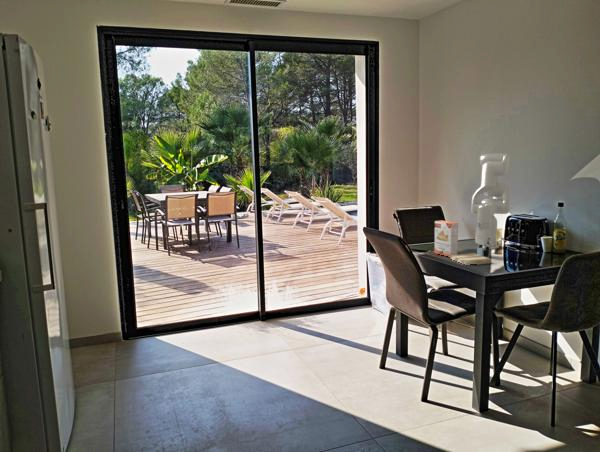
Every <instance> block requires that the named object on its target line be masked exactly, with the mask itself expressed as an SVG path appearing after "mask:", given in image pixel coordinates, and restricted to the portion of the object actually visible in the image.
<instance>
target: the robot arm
mask: <svg viewBox="0 0 600 452" xmlns="http://www.w3.org/2000/svg"><path fill="white" fill-rule="evenodd" d="M510 159H511V158H510V155H509V154H508V153H485V154H482V155H480V156H479V163H480V167H481V175H480V186H479V187H478V188H477V189H476V190H475V191H474V193H473V194H472V196H471V202H470V203H471V204H470V212H471V214H472V215H474V216H477V221H476V223H477V224H476V229H475V235H474V237H475V238H474V242H475V244H476V246H477V248H482V247H484V255H483V256H484V257H487V258H489V257H490V253H489V250H490V251H491V250H495V249H499V248H500V245H498V244H497V242H498V241H497V238H498V236H497V235H498V219H497V218H496V216H495V215H496V214H498V215H499V214H500V215H506V214H509V213H510V211H511V192H512V191H511V184H510V182H507V181H499V177H501V176H503V177H504V176H506V175H507V173H508V171H509V165H510V162H511V160H510ZM482 194H483V195H484V196H485V197H493V198H484V199H482V200H481V202H477V200H478V198H479V197H480V196H481V195H482ZM494 197H496V198H494ZM497 197H498V198H497ZM499 197H501V198H499ZM477 248H476V249H477ZM488 256H489V257H488Z"/></svg>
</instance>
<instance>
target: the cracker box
mask: <svg viewBox="0 0 600 452" xmlns="http://www.w3.org/2000/svg"><path fill="white" fill-rule="evenodd" d="M458 243H459V222H452V221H448V220H443V219H442V220H434V252H433V253H436V254H435V255H437V254H440V255H439V256H441V255H444V256H443V257H445V256H448V257H450V255H459V253H458V250H459V244H458ZM448 257H447V258H448Z"/></svg>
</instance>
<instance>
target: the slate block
mask: <svg viewBox="0 0 600 452" xmlns="http://www.w3.org/2000/svg"><path fill="white" fill-rule="evenodd" d="M490 251H491V249H490V250H489V254H490ZM476 254H478V255H481V256H483V255H484V247H482V248H476ZM487 258H490V255H489V256H488V257H487Z"/></svg>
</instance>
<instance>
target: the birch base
mask: <svg viewBox="0 0 600 452" xmlns="http://www.w3.org/2000/svg"><path fill="white" fill-rule="evenodd" d="M450 259H452V260H451V261H453V260H455V261H457V262H456V263H458V262H460V263H462V264H461V265H463V264H465V265H467V266H471V265H470V264H477V265H487V264H492V258H490V257H484V256H481V255H478V254H477V253H475V252H473V253H461V254H460V253H459V254H458V255H450V258H449V260H450ZM455 261H454V262H455ZM460 263H459V264H460ZM465 265H464V266H465Z"/></svg>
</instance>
